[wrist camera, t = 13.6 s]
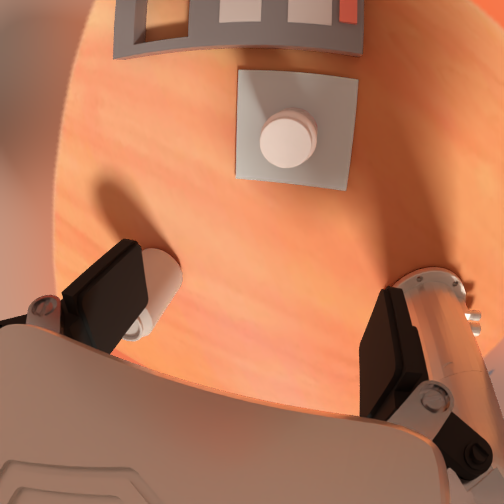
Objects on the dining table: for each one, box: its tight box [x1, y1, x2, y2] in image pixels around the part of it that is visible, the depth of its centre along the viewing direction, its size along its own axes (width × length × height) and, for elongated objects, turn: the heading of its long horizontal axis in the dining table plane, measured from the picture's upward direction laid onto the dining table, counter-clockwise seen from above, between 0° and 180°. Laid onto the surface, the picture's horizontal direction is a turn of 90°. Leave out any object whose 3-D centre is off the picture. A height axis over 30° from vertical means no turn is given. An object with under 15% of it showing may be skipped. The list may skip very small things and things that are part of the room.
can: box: [122, 248, 183, 341], centre depth 37 cm, size 8×8×12 cm
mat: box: [236, 70, 359, 191], centre depth 29 cm, size 12×12×1 cm
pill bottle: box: [260, 108, 318, 168], centre depth 25 cm, size 5×5×8 cm
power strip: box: [113, 0, 364, 60], centre depth 23 cm, size 26×9×3 cm, turn 88°
